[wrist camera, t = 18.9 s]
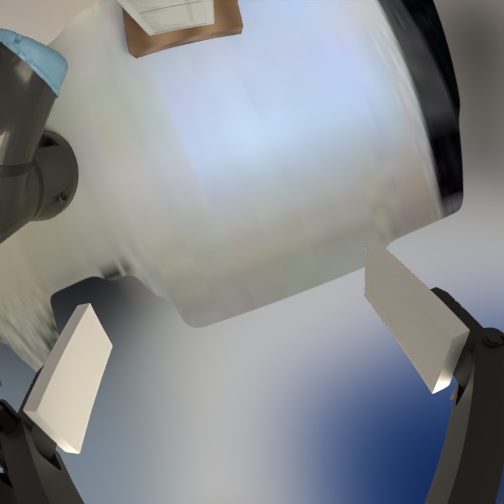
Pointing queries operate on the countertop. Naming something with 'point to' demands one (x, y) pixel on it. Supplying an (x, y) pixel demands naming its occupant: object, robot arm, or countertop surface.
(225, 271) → the countertop surface
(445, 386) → the robot arm
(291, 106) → the countertop surface
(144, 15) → the supplement box
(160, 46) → the walnut base
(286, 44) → the countertop surface
